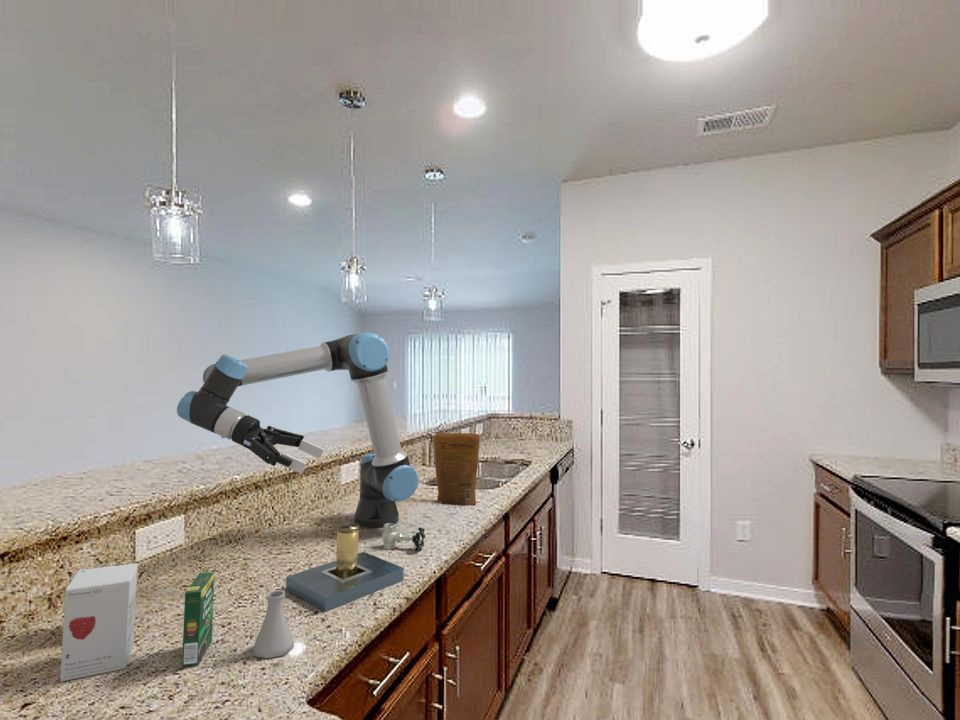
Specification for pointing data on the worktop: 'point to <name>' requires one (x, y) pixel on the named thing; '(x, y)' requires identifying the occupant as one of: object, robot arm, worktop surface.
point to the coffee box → (198, 619)
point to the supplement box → (98, 621)
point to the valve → (401, 537)
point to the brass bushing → (347, 550)
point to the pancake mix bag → (456, 467)
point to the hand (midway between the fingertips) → (313, 460)
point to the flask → (274, 629)
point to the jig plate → (343, 582)
